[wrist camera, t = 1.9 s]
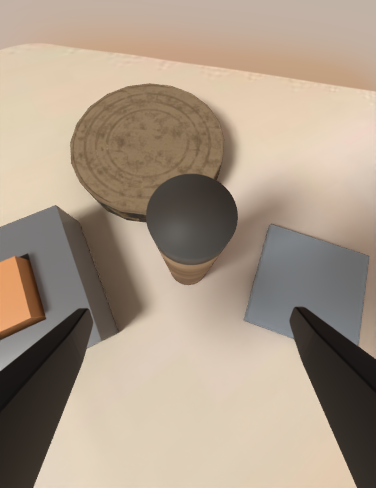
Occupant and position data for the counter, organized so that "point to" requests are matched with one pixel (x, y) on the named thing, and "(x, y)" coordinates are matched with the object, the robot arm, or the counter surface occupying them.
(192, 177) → the dark-capped brown cylinder
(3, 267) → the button
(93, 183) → the brown ringed flat disc
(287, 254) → the mat
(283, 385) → the counter surface
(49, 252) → the grey square block
